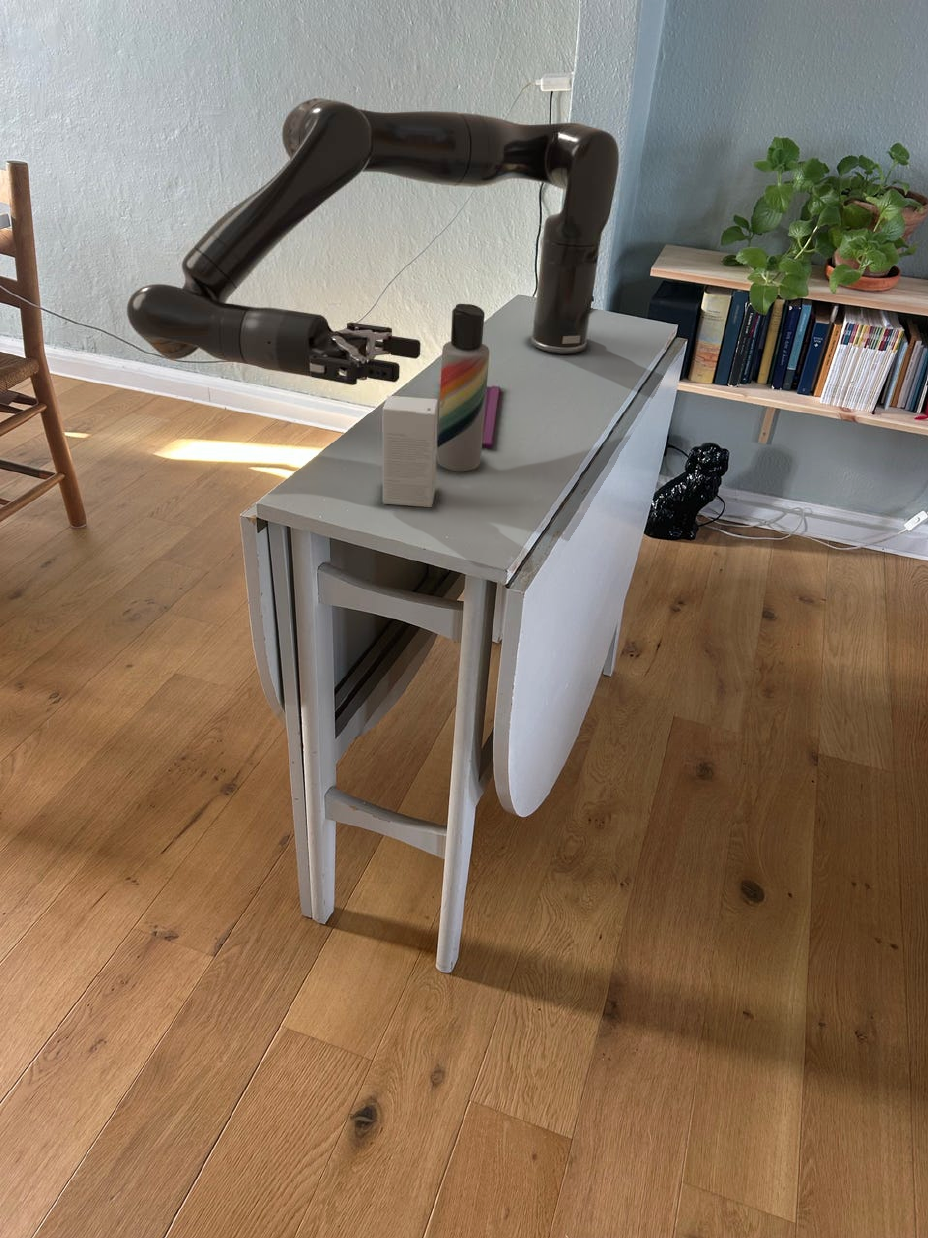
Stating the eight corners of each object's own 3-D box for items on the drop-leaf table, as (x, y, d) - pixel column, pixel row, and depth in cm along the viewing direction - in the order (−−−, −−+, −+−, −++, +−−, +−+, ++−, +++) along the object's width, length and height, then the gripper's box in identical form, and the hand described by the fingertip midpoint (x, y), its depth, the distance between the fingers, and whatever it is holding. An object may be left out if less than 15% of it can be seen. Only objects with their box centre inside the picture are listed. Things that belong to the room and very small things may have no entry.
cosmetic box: (435, 491, 109) (439, 398, 102) (432, 508, 106) (436, 413, 98) (386, 487, 109) (387, 393, 102) (381, 504, 106) (381, 409, 99)
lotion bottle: (437, 450, 118) (445, 296, 106) (480, 453, 118) (493, 300, 106) (435, 470, 113) (443, 312, 101) (480, 473, 113) (493, 315, 101)
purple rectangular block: (448, 385, 136) (448, 381, 135) (500, 390, 136) (500, 386, 135) (433, 442, 120) (433, 438, 119) (492, 448, 120) (493, 443, 119)
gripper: (259, 328, 104) (392, 349, 101) (306, 295, 115) (427, 312, 113) (263, 390, 108) (390, 411, 106) (308, 352, 120) (424, 370, 117)
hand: (409, 360), depth 109 cm, fingers open, 8 cm apart
